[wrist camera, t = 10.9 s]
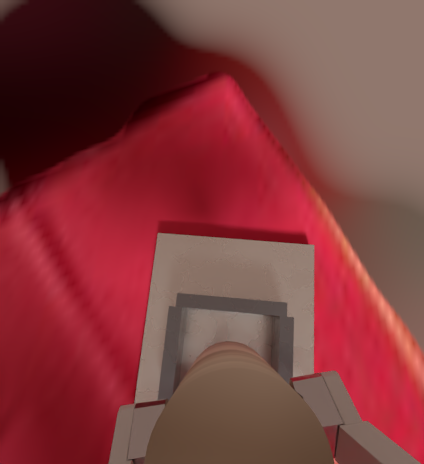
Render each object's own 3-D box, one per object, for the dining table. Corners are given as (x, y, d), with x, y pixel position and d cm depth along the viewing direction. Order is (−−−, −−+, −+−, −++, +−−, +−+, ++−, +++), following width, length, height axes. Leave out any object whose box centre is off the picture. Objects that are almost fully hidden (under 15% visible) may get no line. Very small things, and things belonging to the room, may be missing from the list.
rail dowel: (270, 439, 14) (337, 607, 6) (183, 429, 14) (129, 578, 6) (274, 345, 15) (334, 377, 7) (192, 337, 15) (156, 360, 7)
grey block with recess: (307, 504, 24) (329, 551, 19) (127, 482, 25) (104, 522, 20) (309, 248, 29) (326, 234, 24) (161, 237, 30) (149, 221, 25)
